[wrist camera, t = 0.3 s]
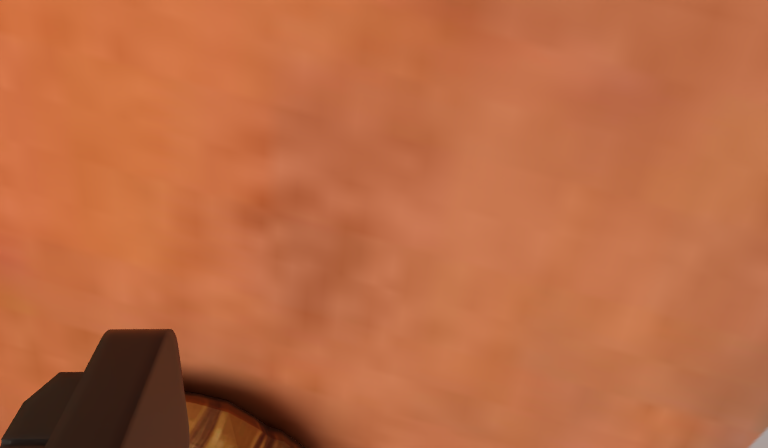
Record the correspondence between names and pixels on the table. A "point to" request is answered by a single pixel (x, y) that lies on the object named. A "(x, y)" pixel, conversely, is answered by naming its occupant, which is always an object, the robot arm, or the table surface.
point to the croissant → (229, 426)
